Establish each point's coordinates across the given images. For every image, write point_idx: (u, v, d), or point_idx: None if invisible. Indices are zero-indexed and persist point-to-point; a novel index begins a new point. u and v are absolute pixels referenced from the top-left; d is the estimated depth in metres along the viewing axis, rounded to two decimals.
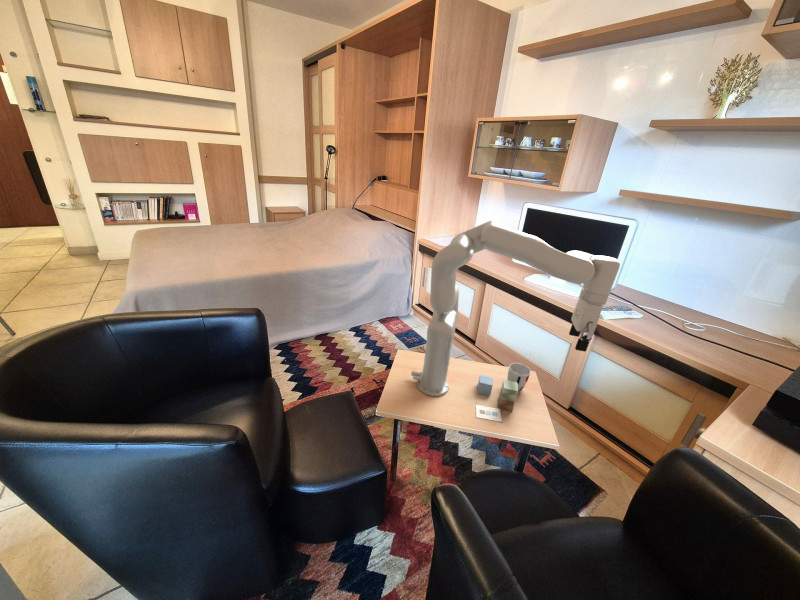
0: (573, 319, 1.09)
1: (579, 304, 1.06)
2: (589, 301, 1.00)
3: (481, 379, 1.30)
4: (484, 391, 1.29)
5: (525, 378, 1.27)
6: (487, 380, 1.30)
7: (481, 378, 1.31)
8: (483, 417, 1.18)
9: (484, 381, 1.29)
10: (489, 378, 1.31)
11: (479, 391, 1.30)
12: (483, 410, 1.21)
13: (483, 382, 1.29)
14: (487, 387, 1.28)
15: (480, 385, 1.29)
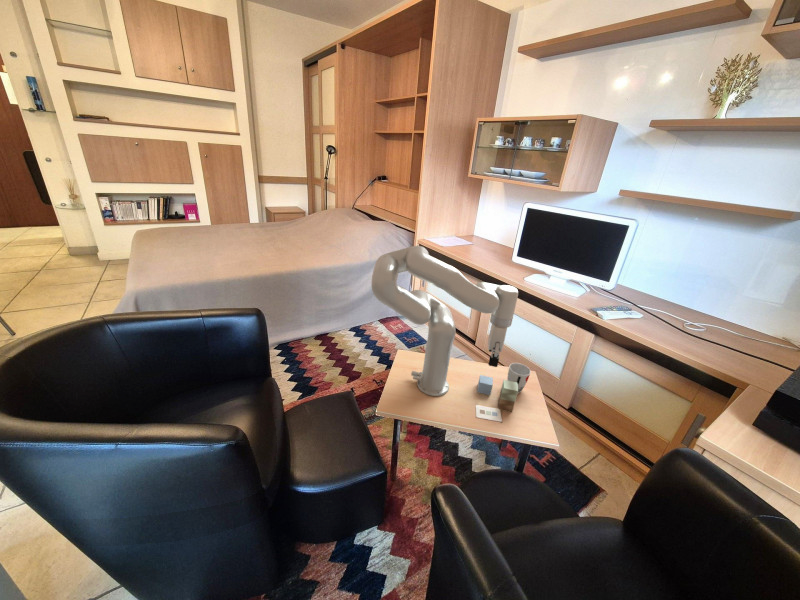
0: (488, 338, 1.25)
1: (491, 326, 1.22)
2: (495, 324, 1.17)
3: (482, 379, 1.30)
4: (484, 391, 1.29)
5: (525, 378, 1.27)
6: (487, 380, 1.30)
7: (481, 378, 1.31)
8: (483, 417, 1.18)
9: (484, 381, 1.29)
10: (489, 378, 1.31)
11: (479, 391, 1.30)
12: (483, 410, 1.21)
13: (483, 382, 1.29)
14: (487, 387, 1.28)
15: (480, 385, 1.29)
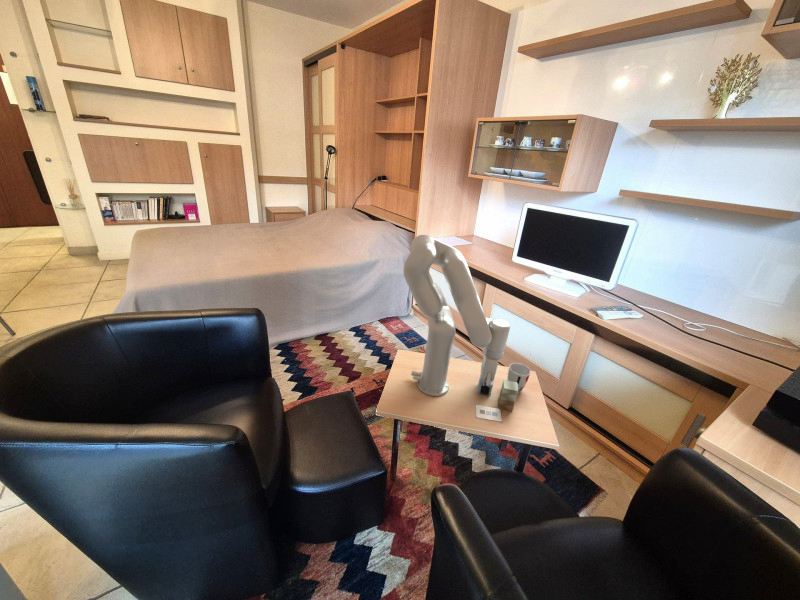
0: (481, 367, 1.31)
1: (484, 356, 1.27)
2: (488, 356, 1.22)
3: None
4: None
5: (525, 378, 1.27)
6: None
7: None
8: (483, 417, 1.18)
9: None
10: None
11: (479, 391, 1.30)
12: (483, 410, 1.21)
13: None
14: None
15: (480, 385, 1.29)
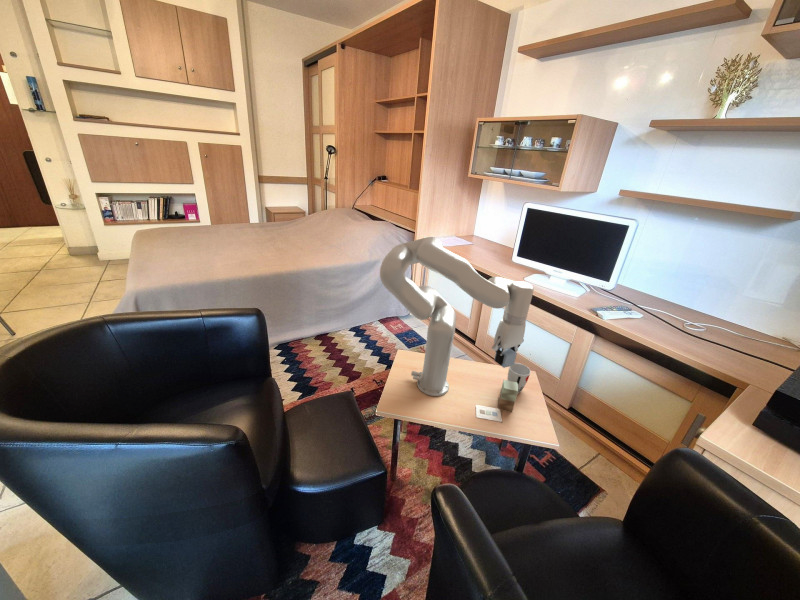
0: None
1: None
2: (503, 318, 1.13)
3: None
4: None
5: (525, 378, 1.27)
6: (508, 351, 1.18)
7: None
8: (483, 417, 1.18)
9: None
10: (512, 351, 1.18)
11: None
12: (483, 410, 1.21)
13: (500, 350, 1.19)
14: None
15: None
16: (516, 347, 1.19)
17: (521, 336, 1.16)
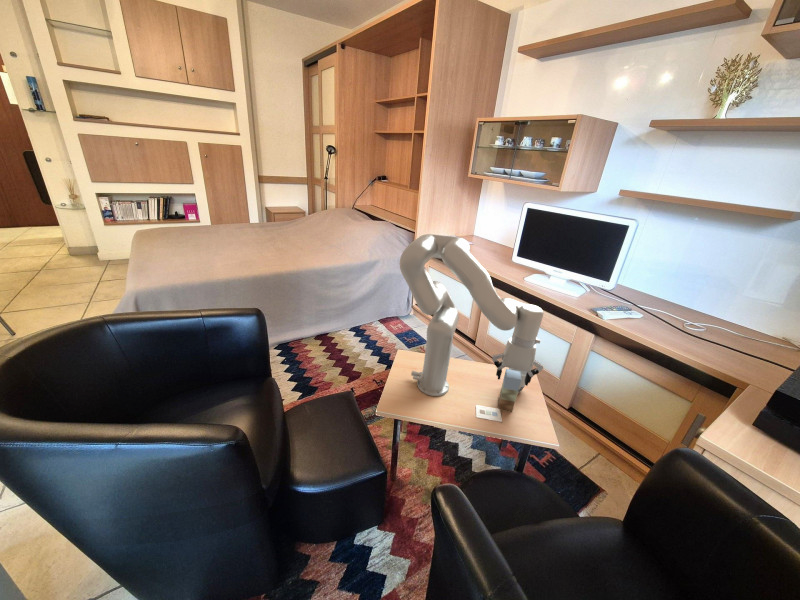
0: None
1: None
2: None
3: (512, 371, 1.20)
4: (504, 381, 1.20)
5: None
6: (514, 375, 1.18)
7: (514, 371, 1.20)
8: (483, 417, 1.18)
9: (510, 372, 1.19)
10: (518, 377, 1.17)
11: (503, 379, 1.22)
12: (483, 410, 1.21)
13: (508, 371, 1.19)
14: (505, 376, 1.19)
15: (505, 372, 1.21)
16: (529, 372, 1.15)
17: (528, 362, 1.12)
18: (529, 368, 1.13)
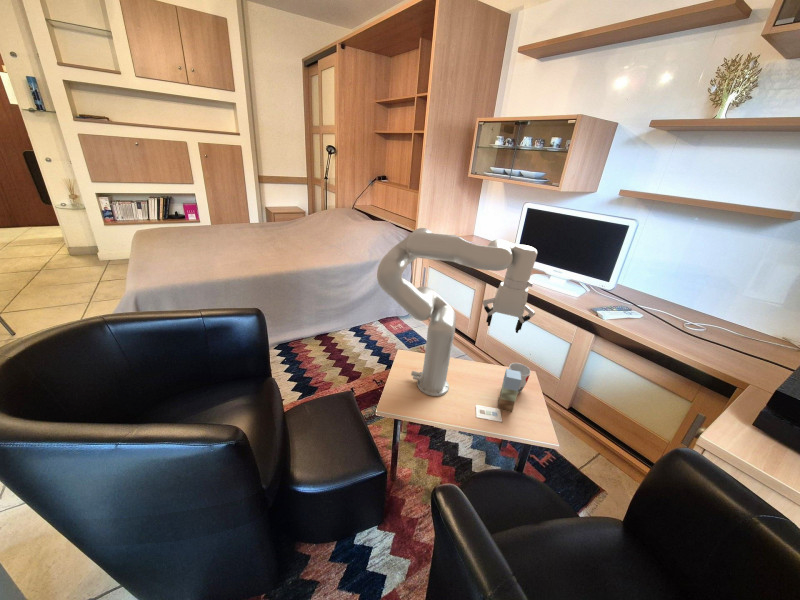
0: None
1: None
2: None
3: (512, 371, 1.20)
4: (504, 381, 1.20)
5: (525, 378, 1.27)
6: (514, 375, 1.18)
7: (514, 371, 1.20)
8: (483, 417, 1.18)
9: (510, 372, 1.19)
10: (518, 377, 1.17)
11: (503, 379, 1.22)
12: (483, 410, 1.21)
13: (508, 371, 1.19)
14: (505, 376, 1.19)
15: (505, 372, 1.21)
16: (520, 318, 1.11)
17: (519, 307, 1.09)
18: (520, 313, 1.10)
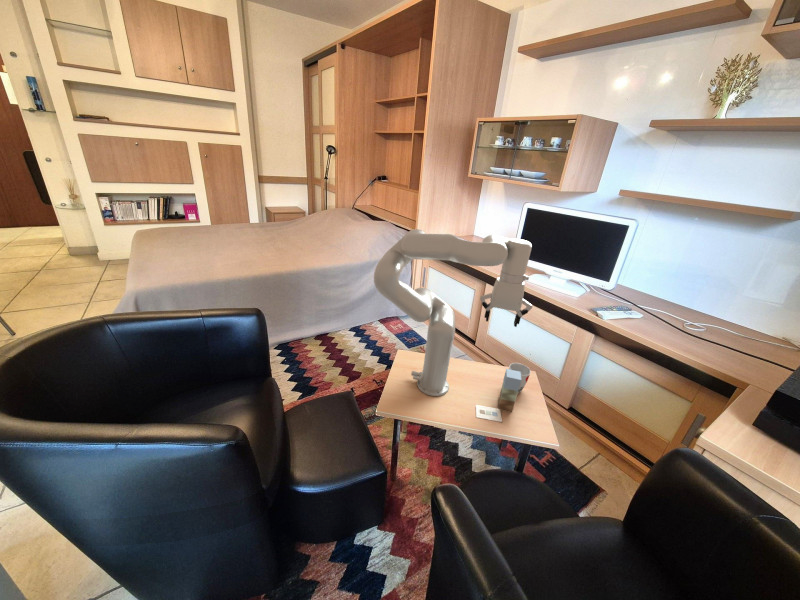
0: None
1: None
2: None
3: (513, 371, 1.20)
4: (504, 381, 1.20)
5: (525, 378, 1.27)
6: (514, 375, 1.18)
7: (514, 371, 1.20)
8: (483, 417, 1.18)
9: (510, 372, 1.19)
10: (518, 377, 1.17)
11: (503, 379, 1.22)
12: (483, 410, 1.21)
13: (508, 371, 1.19)
14: (505, 376, 1.19)
15: (505, 372, 1.21)
16: (518, 312, 1.11)
17: (516, 300, 1.09)
18: (518, 307, 1.10)
